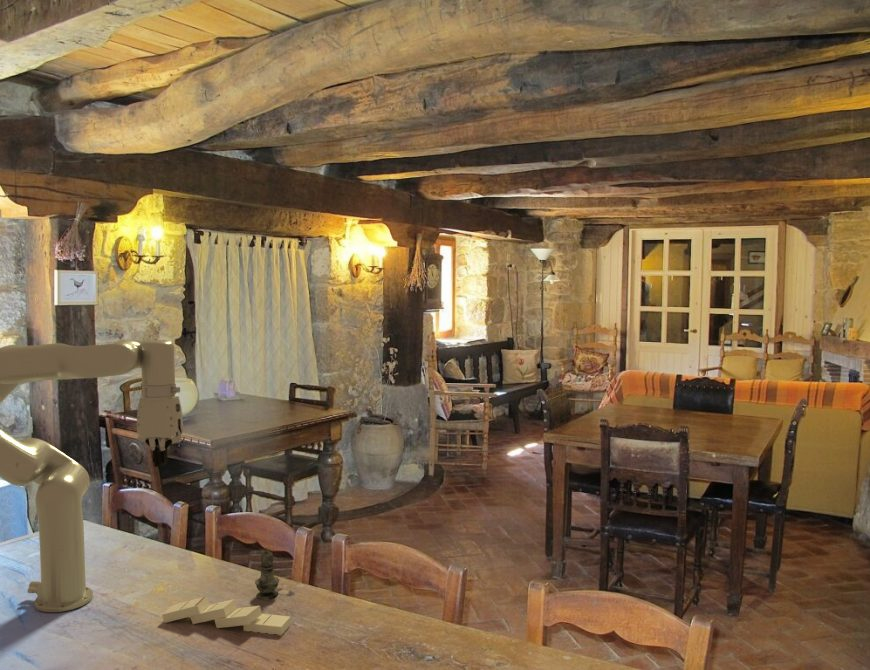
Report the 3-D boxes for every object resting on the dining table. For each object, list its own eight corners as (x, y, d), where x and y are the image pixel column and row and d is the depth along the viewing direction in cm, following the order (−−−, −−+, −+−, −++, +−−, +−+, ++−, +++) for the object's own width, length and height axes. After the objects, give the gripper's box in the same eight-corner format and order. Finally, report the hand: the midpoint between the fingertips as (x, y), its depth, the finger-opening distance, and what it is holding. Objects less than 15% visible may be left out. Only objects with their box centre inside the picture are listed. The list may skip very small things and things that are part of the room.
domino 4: (243, 622, 165) (281, 626, 163) (253, 612, 170) (290, 616, 168) (243, 631, 165) (281, 635, 163) (253, 621, 170) (290, 625, 168)
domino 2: (190, 615, 168) (223, 608, 165) (202, 606, 173) (235, 598, 170) (192, 624, 168) (226, 616, 165) (205, 614, 173) (237, 607, 170)
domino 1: (161, 614, 168) (197, 605, 167) (172, 604, 173) (207, 595, 172) (164, 623, 168) (199, 614, 167) (175, 613, 173) (209, 604, 172)
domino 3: (214, 619, 166) (246, 615, 162) (228, 609, 171) (259, 605, 167) (216, 628, 166) (248, 624, 163) (230, 617, 171) (262, 614, 167)
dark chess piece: (273, 601, 180) (273, 553, 179) (251, 599, 181) (250, 551, 180) (283, 591, 185) (282, 544, 184) (261, 589, 187) (260, 542, 186)
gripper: (194, 389, 183) (196, 462, 184) (137, 388, 184) (139, 460, 186) (181, 394, 175) (182, 470, 177) (121, 392, 177) (123, 468, 179)
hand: (160, 465), depth 181 cm, fingers closed
